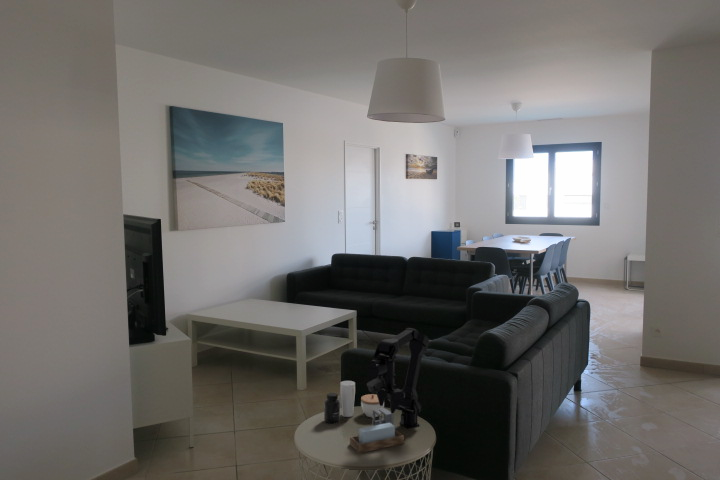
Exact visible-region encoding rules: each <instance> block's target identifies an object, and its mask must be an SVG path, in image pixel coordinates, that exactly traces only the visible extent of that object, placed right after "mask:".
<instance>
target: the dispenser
mask: <svg viewBox="0 0 720 480" xmlns="http://www.w3.org/2000/svg"><path fill="white" fill-rule="evenodd" d="M379 411H380V412H381V414H379V413H378V412H377V411H375V410H373V417H372V421H371V422H372V425H371V426H374V425H380V424H385V423H391V424H392V425H394V422H395V421H394V418H395V417H394V414H395V413H391V410H390V409H389V410H388V409H387V408H385V407H384V408H383V409H379ZM375 414H377V415H378V417H379V419H378V420H376V417H375ZM382 414H383V415H382ZM394 426H395V425H394Z"/></svg>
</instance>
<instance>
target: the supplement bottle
mask: <svg viewBox="0 0 720 480" xmlns="http://www.w3.org/2000/svg"><path fill="white" fill-rule="evenodd" d="M323 405H324V406H323V407H324V408H323V409H324V412H323V420H324V422H325V423H327V424H338V423H339V422H340V414H341V410H340V409H341V401H340V399H339V397H338V393H335V392H328V393H327V394H326V400H325V401H324V404H323Z"/></svg>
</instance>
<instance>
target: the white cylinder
mask: <svg viewBox="0 0 720 480" xmlns="http://www.w3.org/2000/svg"><path fill="white" fill-rule="evenodd" d="M339 388H340V389H339V391H340V392H339V394H340V396H339V397H340V409H341V416H342V417H345V418H350V417H353V416H354V411H355V410H354V409H355V408H354V407H355V395H356V382H355V381H352V380H343V381H340V386H339Z"/></svg>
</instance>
